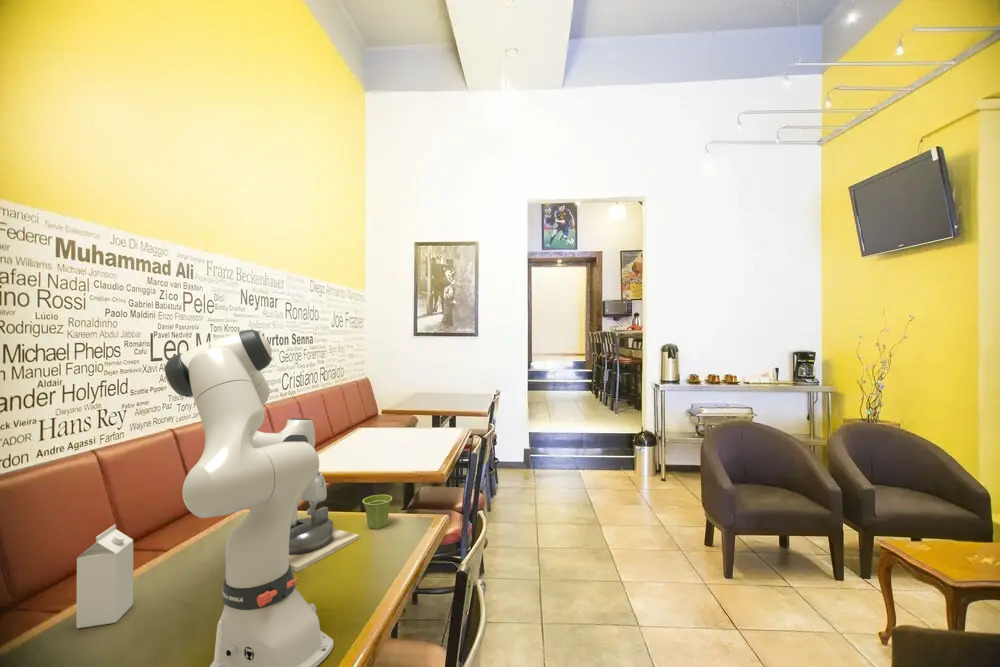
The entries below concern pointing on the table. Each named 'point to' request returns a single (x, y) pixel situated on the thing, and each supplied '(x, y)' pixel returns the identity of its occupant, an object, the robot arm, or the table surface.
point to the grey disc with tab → (311, 532)
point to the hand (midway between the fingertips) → (300, 512)
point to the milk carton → (105, 579)
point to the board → (322, 550)
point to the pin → (295, 519)
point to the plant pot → (377, 510)
